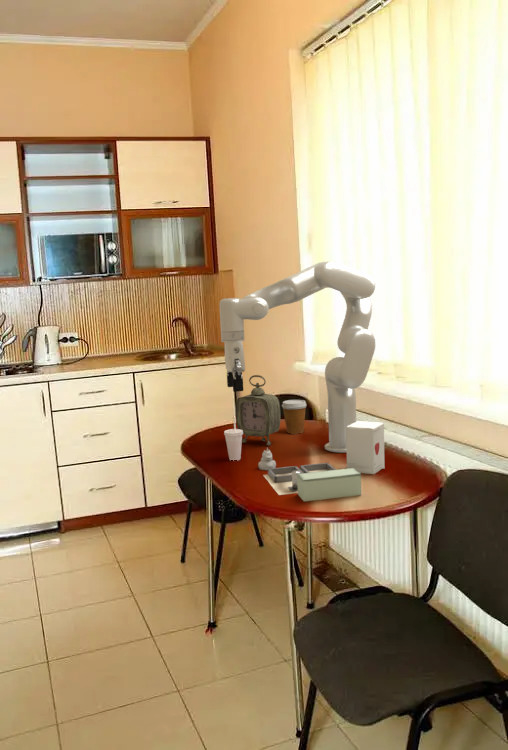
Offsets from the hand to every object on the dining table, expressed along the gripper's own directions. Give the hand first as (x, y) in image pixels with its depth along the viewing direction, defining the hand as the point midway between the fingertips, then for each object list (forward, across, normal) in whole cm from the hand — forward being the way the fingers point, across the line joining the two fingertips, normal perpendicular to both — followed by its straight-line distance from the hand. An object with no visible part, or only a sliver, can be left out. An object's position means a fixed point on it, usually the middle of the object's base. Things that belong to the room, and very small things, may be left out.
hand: (235, 388), depth 230 cm
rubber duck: (+24, -15, -6) cm, 30 cm away
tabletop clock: (+24, +22, -13) cm, 35 cm away
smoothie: (+24, +3, +1) cm, 25 cm away
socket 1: (+23, -27, -9) cm, 37 cm away
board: (+24, -33, -13) cm, 43 cm away
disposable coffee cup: (+24, +32, -29) cm, 50 cm away
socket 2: (+23, -28, -19) cm, 41 cm away
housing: (+24, -48, -15) cm, 55 cm away
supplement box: (+24, -28, -34) cm, 50 cm away
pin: (+23, -39, -8) cm, 46 cm away
